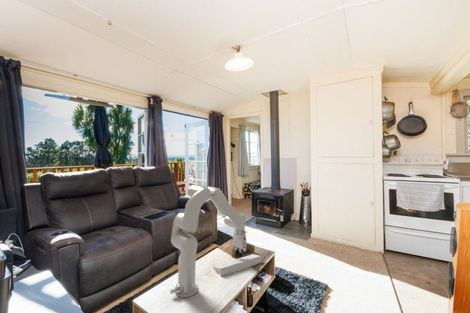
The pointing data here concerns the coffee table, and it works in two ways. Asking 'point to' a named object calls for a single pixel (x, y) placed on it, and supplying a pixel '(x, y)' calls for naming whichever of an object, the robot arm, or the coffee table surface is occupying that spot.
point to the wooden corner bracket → (248, 248)
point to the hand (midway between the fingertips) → (238, 256)
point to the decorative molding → (237, 264)
